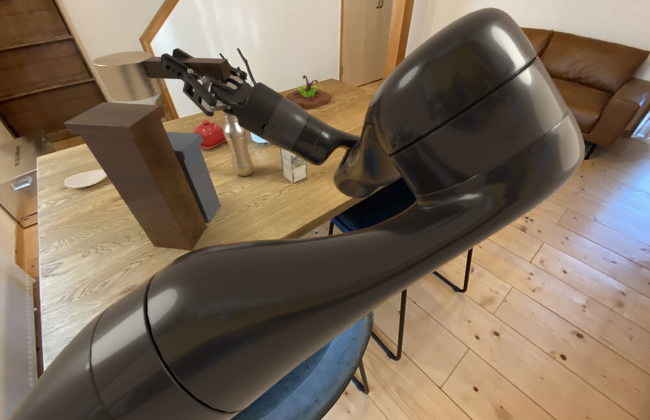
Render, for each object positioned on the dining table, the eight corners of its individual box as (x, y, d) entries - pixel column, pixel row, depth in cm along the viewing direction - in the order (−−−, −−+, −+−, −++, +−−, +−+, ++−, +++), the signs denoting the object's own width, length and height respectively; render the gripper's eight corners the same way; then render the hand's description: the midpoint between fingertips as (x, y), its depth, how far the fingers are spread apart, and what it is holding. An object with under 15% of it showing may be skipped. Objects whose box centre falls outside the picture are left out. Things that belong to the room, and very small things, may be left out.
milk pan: (221, 106, 40) (211, 69, 37) (98, 100, 42) (78, 64, 39) (241, 87, 46) (234, 53, 42) (132, 82, 48) (117, 50, 45)
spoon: (180, 164, 94) (177, 155, 92) (68, 196, 82) (60, 187, 79) (175, 152, 100) (172, 144, 98) (69, 181, 87) (62, 172, 85)
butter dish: (208, 152, 100) (200, 130, 94) (190, 143, 105) (182, 122, 99) (233, 140, 106) (228, 119, 101) (215, 132, 111) (209, 111, 106)
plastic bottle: (240, 181, 87) (224, 120, 73) (231, 171, 90) (214, 112, 77) (258, 173, 90) (246, 114, 76) (248, 164, 93) (235, 106, 80)
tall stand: (194, 252, 66) (129, 127, 44) (148, 247, 67) (63, 122, 45) (211, 226, 72) (161, 105, 51) (169, 221, 74) (103, 102, 52)
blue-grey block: (212, 224, 73) (182, 151, 58) (170, 220, 74) (130, 147, 59) (224, 204, 78) (200, 133, 64) (185, 201, 80) (153, 130, 65)
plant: (312, 90, 146) (311, 67, 138) (336, 100, 135) (337, 76, 127) (280, 99, 136) (277, 75, 129) (304, 111, 125) (302, 86, 118)
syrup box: (297, 169, 91) (293, 128, 81) (308, 177, 88) (305, 135, 78) (282, 176, 89) (277, 134, 79) (293, 184, 85) (288, 142, 75)
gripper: (294, 83, 47) (195, 22, 43) (271, 118, 37) (138, 42, 33) (277, 119, 52) (187, 67, 48) (253, 158, 42) (136, 96, 38)
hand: (168, 57), depth 40 cm, fingers closed on milk pan, 2 cm apart
